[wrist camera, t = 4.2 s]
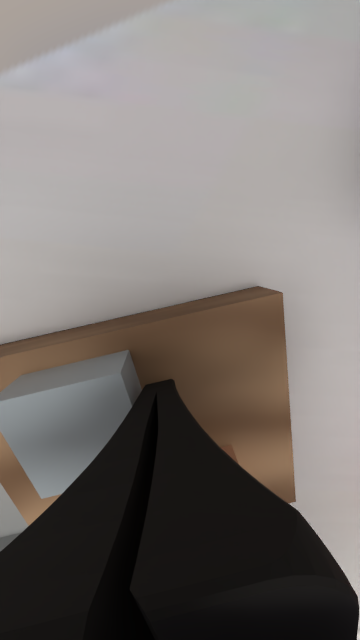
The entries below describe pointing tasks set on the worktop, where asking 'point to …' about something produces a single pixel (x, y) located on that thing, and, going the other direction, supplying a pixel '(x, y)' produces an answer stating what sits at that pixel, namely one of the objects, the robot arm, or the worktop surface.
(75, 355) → the board
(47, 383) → the slate tile
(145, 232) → the worktop surface
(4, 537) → the tray
